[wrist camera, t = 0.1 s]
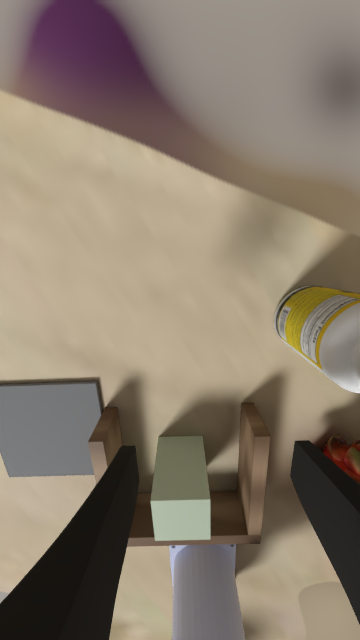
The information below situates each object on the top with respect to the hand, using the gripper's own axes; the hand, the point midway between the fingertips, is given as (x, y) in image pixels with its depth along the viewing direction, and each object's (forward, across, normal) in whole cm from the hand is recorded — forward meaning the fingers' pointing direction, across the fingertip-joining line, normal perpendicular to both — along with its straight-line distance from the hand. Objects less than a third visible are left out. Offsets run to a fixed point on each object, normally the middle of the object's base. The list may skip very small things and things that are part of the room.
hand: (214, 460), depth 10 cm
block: (+10, +2, +11) cm, 15 cm away
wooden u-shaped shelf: (+10, +2, +11) cm, 15 cm away
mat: (+10, +15, +7) cm, 19 cm away
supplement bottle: (+10, -9, -4) cm, 14 cm away
